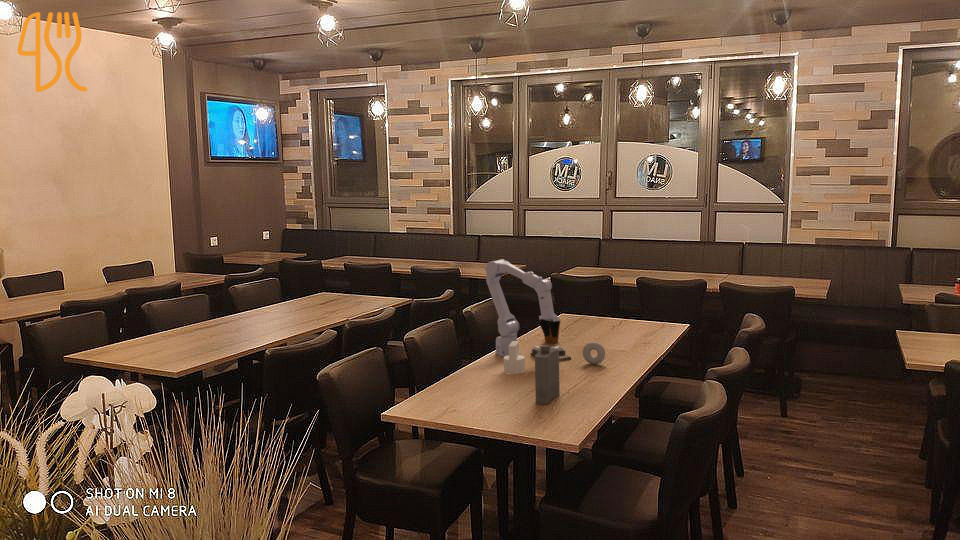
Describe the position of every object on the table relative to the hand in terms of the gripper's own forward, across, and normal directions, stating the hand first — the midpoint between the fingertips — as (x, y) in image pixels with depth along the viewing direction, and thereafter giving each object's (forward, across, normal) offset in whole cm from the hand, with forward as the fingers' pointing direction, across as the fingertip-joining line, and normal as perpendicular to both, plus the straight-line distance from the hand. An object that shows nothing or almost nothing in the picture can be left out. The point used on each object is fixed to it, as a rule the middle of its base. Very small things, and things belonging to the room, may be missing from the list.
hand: (551, 336), depth 324 cm
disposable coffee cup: (+8, +31, -15) cm, 36 cm away
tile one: (+7, +9, +2) cm, 12 cm away
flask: (+15, -48, +29) cm, 58 cm away
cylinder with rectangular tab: (+10, -8, +24) cm, 27 cm away
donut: (+14, -14, -11) cm, 23 cm away
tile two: (+8, +5, -4) cm, 10 cm away
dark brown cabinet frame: (+10, +5, 0) cm, 11 cm away
